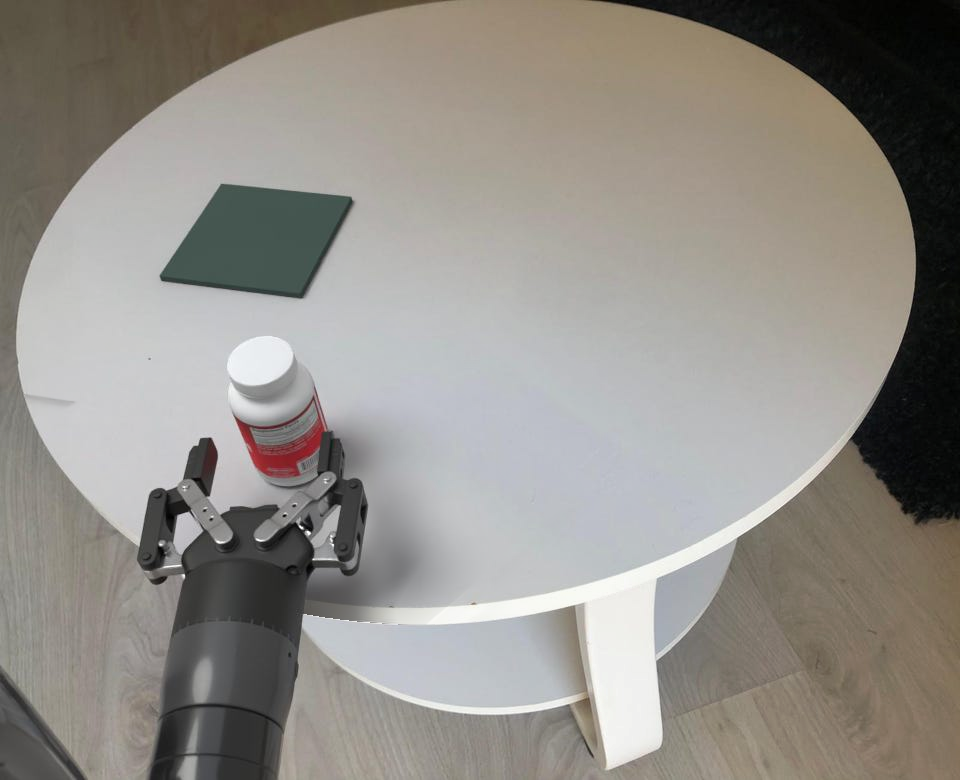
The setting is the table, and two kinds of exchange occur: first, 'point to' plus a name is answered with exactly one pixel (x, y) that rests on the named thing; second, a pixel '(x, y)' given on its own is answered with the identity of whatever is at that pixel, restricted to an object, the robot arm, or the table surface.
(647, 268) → the table surface
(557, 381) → the table surface
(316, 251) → the mat
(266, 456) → the pill bottle
